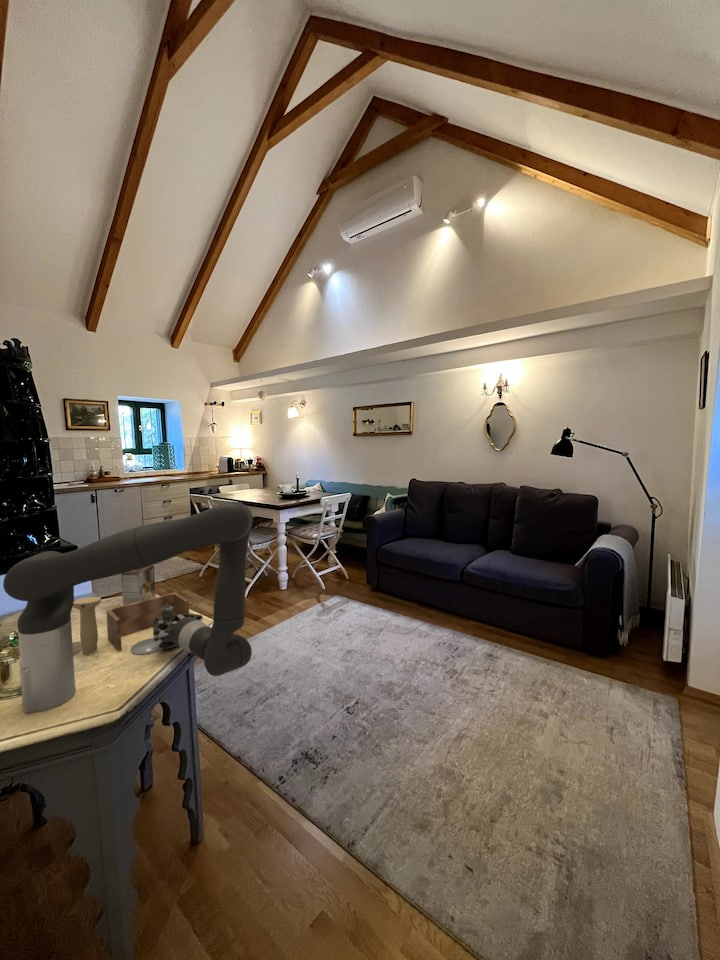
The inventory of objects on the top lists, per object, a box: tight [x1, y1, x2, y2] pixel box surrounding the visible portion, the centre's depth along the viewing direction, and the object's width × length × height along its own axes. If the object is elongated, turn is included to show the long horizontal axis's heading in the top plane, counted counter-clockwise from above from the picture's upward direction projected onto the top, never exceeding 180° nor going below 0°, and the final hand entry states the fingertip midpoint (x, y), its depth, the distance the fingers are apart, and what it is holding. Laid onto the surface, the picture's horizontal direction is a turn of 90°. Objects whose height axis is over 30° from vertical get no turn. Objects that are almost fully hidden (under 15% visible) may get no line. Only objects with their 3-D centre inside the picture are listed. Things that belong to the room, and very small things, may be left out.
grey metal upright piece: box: [159, 603, 177, 649], centre depth 111 cm, size 6×6×12 cm
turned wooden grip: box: [72, 596, 102, 656], centre depth 108 cm, size 5×6×15 cm
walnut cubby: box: [105, 591, 190, 652], centre depth 120 cm, size 20×10×9 cm, turn 135°
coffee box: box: [120, 564, 157, 606], centre depth 134 cm, size 9×6×16 cm
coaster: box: [130, 637, 163, 656], centre depth 112 cm, size 9×9×1 cm
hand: (163, 618), depth 113 cm, fingers closed on grey metal upright piece, 3 cm apart
